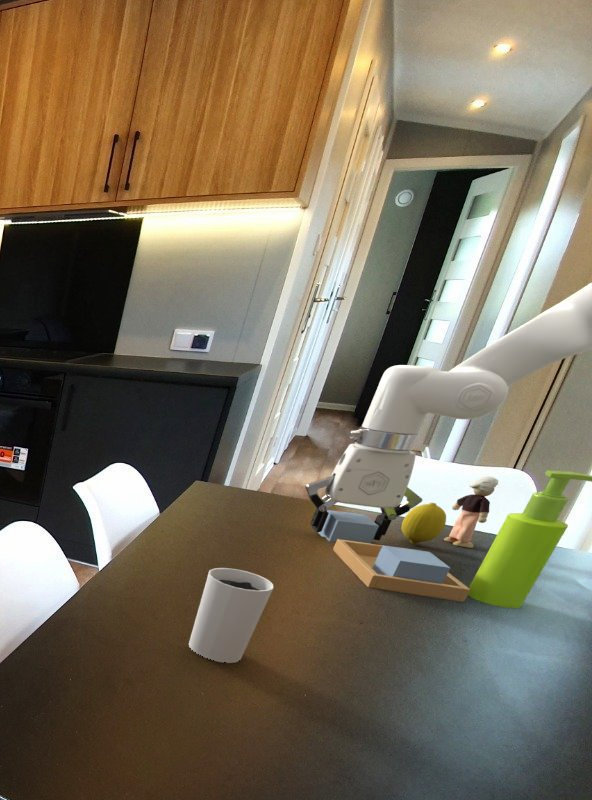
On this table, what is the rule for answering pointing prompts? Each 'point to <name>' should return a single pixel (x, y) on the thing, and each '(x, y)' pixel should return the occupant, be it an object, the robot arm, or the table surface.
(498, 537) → the soap dispenser
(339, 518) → the blue-gray block
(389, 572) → the blue-grey block
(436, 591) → the wooden tray
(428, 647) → the table surface
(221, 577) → the white cup
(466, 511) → the grandmother figurine
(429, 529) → the lemon
